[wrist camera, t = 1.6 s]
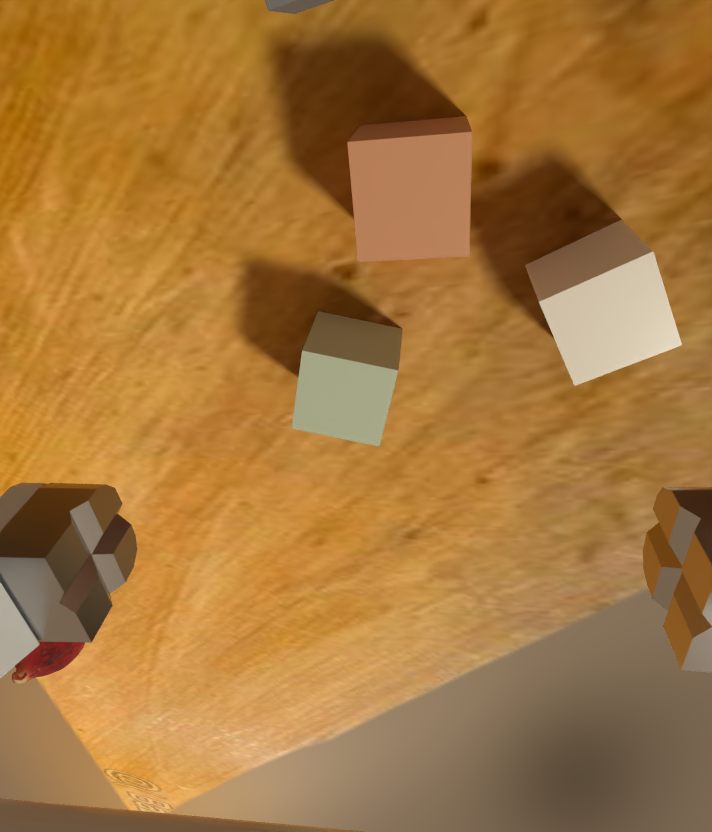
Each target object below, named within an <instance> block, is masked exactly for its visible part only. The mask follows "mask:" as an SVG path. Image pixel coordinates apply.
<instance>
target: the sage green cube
mask: <svg viewBox="0 0 712 832" xmlns="http://www.w3.org/2000/svg"><path fill="white" fill-rule="evenodd" d="M401 339H402V328H397V327H392V326H387V325H382V324H378V323H373V322H368V321H363V320H358V319H354V318H349V317H344V316H339V315H334V314H330V313H325V312H320V311H318V313H317V315H316V318H315V320H314V322H313V325H312V327H311V330H310V332H309V335H308V337H307V340H306V342H305V345H304V347H303V350H302V355H301V363H300V370H299V377H298V385H297V392H296V400H295V407H294V415H293V422H292V429H297V430H302V431H307V432H312V433H316V434H321V435H326V436H331V437H336V438H341V439H345V440H350V441H355V442H360V443H365V444H370V445H374V446H380V442H381V438H382V434H383V430H384V426H385V422H386V418H387V414H388V410H389V406H390V402H391V398H392V394H393V390H394V386H395V382H396V378H397V374H398V369H399V359H400V349H401Z"/></svg>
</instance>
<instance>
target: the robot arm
mask: <svg viewBox="0 0 712 832" xmlns="http://www.w3.org/2000/svg"><path fill="white" fill-rule="evenodd" d="M121 506H122V502H121V500H120V498H119V496H118V493H117V491H116V489H115V488H114V487H111V486H108V485H102V484H68V483H49V484H45V483H20V484H17V485H14V486H12V487H10V488H9V489H8V490H7V491H6V492H5V493H4V494H3V495H2V496H1V497H0V678H1V677H2V676H3V675H5V674H6V673H7V672H8V671H9V670H10V669H11V668H13V667H14V666H15V665H16V664H17V663H19V662H20V661H21V660H22V659H23V658H25V657H26V656H27V655H28V654H29V653H30V652H32V651H33V650H34V649H35V648H36V647H37V646H39V644H40V643H39V642H92V641H93V639H94V637H95V636H96V634H97V632H98V630H99V629H100V627H101V625H102V623H103V621H104V620H105V618H106V616H107V614H108V613H109V611H110V609H111V607H112V606H113V605H112V601H111V596H110V593H111V592H113V591H114V590H116V589H117V588H118V587H120V586H121V585H123V584H124V583H125V582H126V581H127V579H128V577H129V575H130V573H131V571H132V569H133V567H134V563H135V558H136V552H137V544H136V536H135V533H134V531H133V528H132V526H131V524H130V523H129V522H127V521H126V520H125V519H124V518H122V517H121V516H120V515H119V514H118V512H119V510H120V508H121ZM653 510H654V512H655V515H656V517H657V519H658V521H659V523H658V524H657V525H656V526H654V527H653V528H652V529H650V530H649V531H648V532H647V534H646V538H645V543H644V547H643V569H644V573H645V578H646V582H647V585H648V588H649V591H650V593H651V596H652V599H654V600H655V601H656V602H657V603H659V604H660V605H661V606H662V607H664V608H665V609H666V610H667V611H668V613H667V616H666V619H665V622H664V625H663V627H664V629H665V632H666V634H667V636H668V639H669V641H670V644H671V646H672V649H673V651H674V654H675V656H676V659H677V661H678V664H679V666H680V668H681V670H687V671H699V672H712V487H662V489H661V490H660V492H659V493H658V494H657V497H656V500H655V504H654V507H653ZM0 832H363V831H352V830H340V829H330V828H318V827H308V826H297V825H286V824H276V823H265V822H254V821H243V820H231V819H220V818H210V817H199V816H188V815H177V814H166V813H155V812H144V811H133V810H122V809H110V808H100V807H88V806H78V805H66V804H56V803H45V802H34V801H22V800H12V799H1V798H0Z"/></svg>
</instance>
